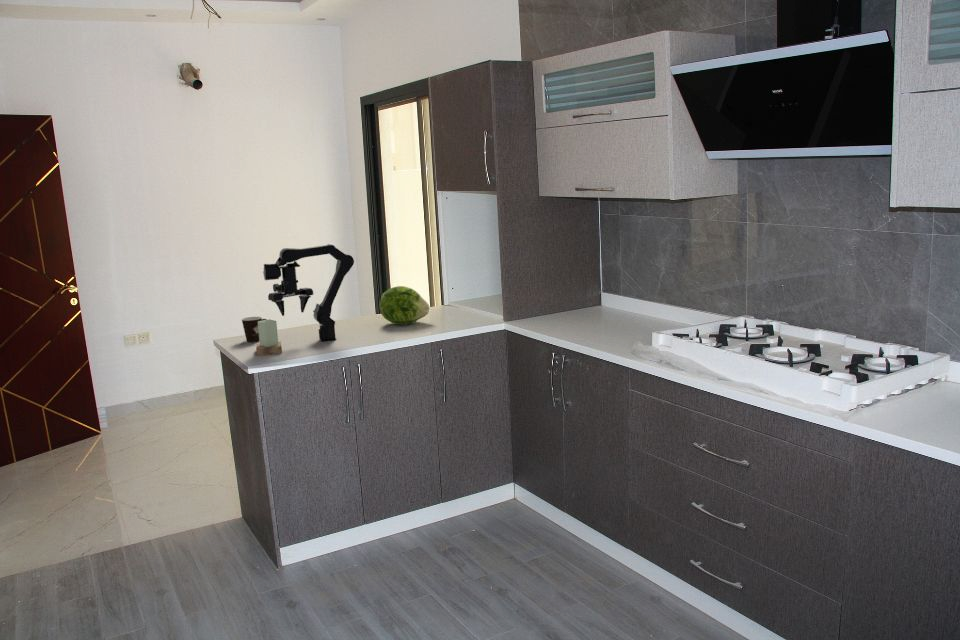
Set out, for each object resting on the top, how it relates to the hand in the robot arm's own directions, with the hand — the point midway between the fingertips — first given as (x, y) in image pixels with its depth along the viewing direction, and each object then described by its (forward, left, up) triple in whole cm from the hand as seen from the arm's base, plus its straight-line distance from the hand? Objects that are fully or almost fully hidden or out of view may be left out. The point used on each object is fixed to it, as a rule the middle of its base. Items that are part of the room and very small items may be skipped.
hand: (292, 314), depth 341 cm
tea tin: (+11, +11, -10) cm, 18 cm away
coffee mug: (+16, -16, -13) cm, 26 cm away
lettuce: (-52, -20, -13) cm, 57 cm away
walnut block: (+11, +11, -14) cm, 21 cm away
